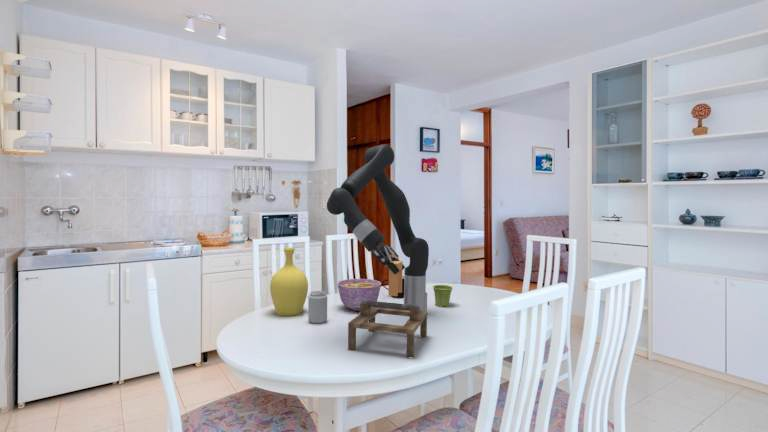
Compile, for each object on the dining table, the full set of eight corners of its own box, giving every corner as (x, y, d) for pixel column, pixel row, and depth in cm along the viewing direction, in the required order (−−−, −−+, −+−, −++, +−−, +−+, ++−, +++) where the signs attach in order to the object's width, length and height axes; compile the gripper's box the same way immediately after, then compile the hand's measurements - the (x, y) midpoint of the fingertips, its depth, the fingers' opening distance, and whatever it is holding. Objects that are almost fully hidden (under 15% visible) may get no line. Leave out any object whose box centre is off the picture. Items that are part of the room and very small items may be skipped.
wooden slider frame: (348, 349, 140) (348, 307, 139) (370, 329, 161) (370, 293, 160) (412, 357, 133) (413, 314, 133) (426, 336, 154) (427, 298, 154)
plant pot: (455, 304, 199) (455, 286, 199) (447, 309, 192) (447, 290, 191) (437, 301, 204) (437, 284, 204) (428, 305, 197) (429, 287, 196)
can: (323, 324, 166) (323, 294, 165) (305, 323, 168) (305, 293, 167) (329, 319, 173) (329, 290, 173) (312, 318, 175) (312, 289, 174)
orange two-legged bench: (388, 295, 143) (389, 263, 143) (393, 291, 149) (394, 260, 149) (396, 296, 142) (397, 263, 142) (401, 292, 148) (402, 261, 148)
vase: (273, 319, 172) (273, 251, 171) (267, 309, 187) (267, 246, 186) (311, 315, 179) (312, 249, 177) (303, 306, 193) (303, 245, 192)
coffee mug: (408, 295, 216) (408, 276, 216) (403, 299, 208) (403, 279, 208) (386, 293, 220) (387, 274, 220) (381, 297, 212) (381, 277, 212)
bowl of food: (384, 303, 199) (385, 279, 199) (376, 315, 180) (376, 288, 179) (343, 301, 203) (343, 277, 202) (331, 312, 183) (331, 286, 182)
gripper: (368, 229, 140) (402, 267, 137) (382, 226, 154) (413, 260, 151) (353, 244, 142) (386, 282, 139) (368, 240, 156) (398, 274, 153)
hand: (400, 270), depth 145 cm, fingers closed on orange two-legged bench, 6 cm apart
